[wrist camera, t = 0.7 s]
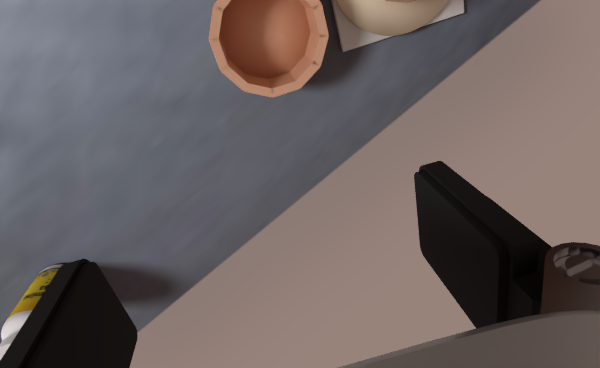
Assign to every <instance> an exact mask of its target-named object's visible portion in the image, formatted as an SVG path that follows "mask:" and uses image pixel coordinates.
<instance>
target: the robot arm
mask: <svg viewBox="0 0 600 368" xmlns="http://www.w3.org/2000/svg"><path fill="white" fill-rule="evenodd" d="M414 179H415V192H416V203H417V215H418V226H419V239H420V248H421V251H422V254H423V256H424V257H425V259H426V260H427V262H428V263H429V264H430V266H431V267H432V268H433V270H434V271H435V272H436V274H437V275H438V277H439V278H440V279H441V281H442V282H443V283H444V285H445V286H446V287H447V289H448V290H449V291H450V293H451V294H452V296H453V297H454V298H455V300H456V301H457V303H458V304H459V305H460V307H461V308H462V309H463V310H464V312H465V313H466V315H467V316H468V318H469V319H470V320H471V322H472V323H473V324H474V326H475V327H476V329H473V330H469V331H466V332H462V333H458V334H455V335H451V336H447V337H444V338H440V339H436V340H432V341H429V342H425V343H422V344H418V345H415V346H411V347H408V348H404V349H401V350H398V351H394V352H391V353H388V354H384V355H380V356H377V357H373V358H370V359H366V360H363V361H359V362H356V363H353V364H349V365H346V366H342V367H339V368H600V246H598V245H593V244H588V243H576V242H571V243H563V244H560V245H557V246H554V247H551V246H550V245H548V244H547V243H546V242H545V241H543V240H542V239H541V238H540V237H538V236H537V235H536V234H535V233H533V232H532V231H531V230H529V229H528V228H527V227H525V226H524V225H523V224H522V223H521V222H519V221H518V220H517V219H515V218H514V217H513V216H512V215H510V214H509V213H508V212H507V211H505V210H504V209H503V208H501V207H500V206H499V205H498V204H496V203H495V202H494V201H493V200H491V199H490V198H488V197H487V196H485V195H484V194H482V193H481V192H480V191H479V190H477V189H476V188H475V187H474V186H472V185H471V184H470V183H469V182H467V181H466V180H465V179H463V178H462V177H461V176H460V175H458V174H457V173H456V172H454V171H453V170H452V169H451V168H450V167H448V166H447V165H446V164H445V163H443V162H442V161H437V162H433V163H430V164H426V165H423V166H421V167H420V169H419V172H416V173H415V175H414ZM136 342H137V330H136V327H135V325H134V324H133V322H132V320H131V319H130V317H129V315H128V314H127V312H126V311H125V309H124V307H123V306H122V304H121V302H120V301H119V299H118V298H117V296H116V294H115V293H114V291H113V289H112V288H111V286H110V285H109V283H108V281H107V280H106V278H105V276H104V275H103V273H102V272H101V270H100V268H99V267H98V265H97V264H96V263H95V262H89V261H88V260H87V259H81V260H78V261H74V262H70V263H67V264H64V265H62V266H61V267H60V268H59V269H58V271H57V273H56V274H55V276H54V277H53V279H52V280H51V282H50V284H49V285H48V287H47V288H46V290H45V291H44V293H43V294H42V296H41V298H40V299H39V301H38V302H37V304H36V305H35V307H34V309H33V310H32V312H31V313H30V315H29V316H28V318H27V320H26V321H25V323H24V324H23V326H22V327H21V329H20V330H19V332H18V334H17V335H16V337H15V338H14V340H13V341H12V343H11V345H10V346H9V348H8V349H7V351H6V352H5V354H4V355H3V357H2V359H1V360H0V368H129V367H130V363H131V360H132V356H133V352H134V349H135V345H136Z"/></svg>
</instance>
